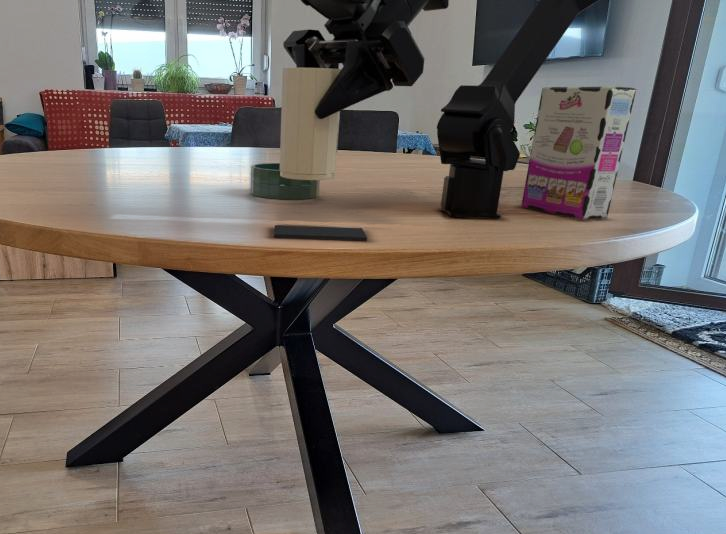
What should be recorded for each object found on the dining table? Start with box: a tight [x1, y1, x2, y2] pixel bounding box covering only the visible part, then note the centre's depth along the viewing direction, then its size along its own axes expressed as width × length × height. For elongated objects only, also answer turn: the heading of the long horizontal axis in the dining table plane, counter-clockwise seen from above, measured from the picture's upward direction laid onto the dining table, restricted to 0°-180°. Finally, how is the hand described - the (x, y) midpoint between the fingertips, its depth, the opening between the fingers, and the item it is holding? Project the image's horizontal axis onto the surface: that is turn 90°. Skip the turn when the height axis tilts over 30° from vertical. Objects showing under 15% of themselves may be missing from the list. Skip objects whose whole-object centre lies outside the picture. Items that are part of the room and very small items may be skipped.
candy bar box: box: [520, 86, 637, 221], centre depth 86 cm, size 11×5×16 cm, turn 25°
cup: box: [279, 67, 342, 181], centre depth 69 cm, size 6×6×11 cm
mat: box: [273, 224, 368, 242], centre depth 71 cm, size 10×5×1 cm, turn 88°
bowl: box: [249, 162, 321, 201], centre depth 93 cm, size 10×10×4 cm
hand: (299, 114), depth 68 cm, fingers closed on cup, 6 cm apart
